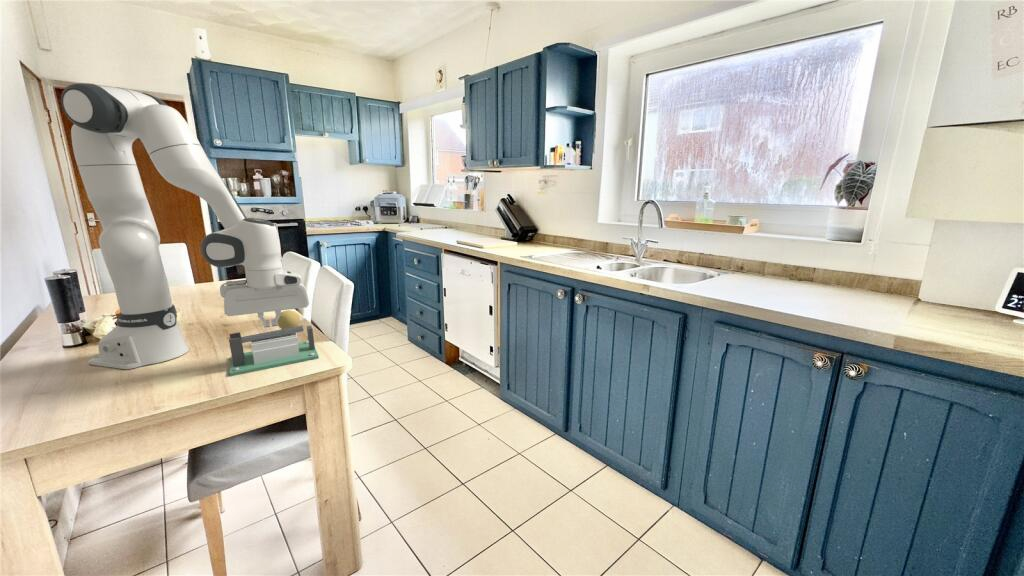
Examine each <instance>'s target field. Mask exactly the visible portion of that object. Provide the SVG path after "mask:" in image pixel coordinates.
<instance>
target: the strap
mask: <svg viewBox="0 0 1024 576" xmlns="http://www.w3.org/2000/svg"><path fill="white" fill-rule="evenodd" d="M304 330H305V329H304V327H303V325H298V326H297V327H292V328H286V329H281V328H280V329H277V330H271V331H267V332H261V333H256V334H249V335H245V336H241V337H240V341H241V343H242V344H245V343H250V342H251V341H256V340H261V339H266V338H271V337H277V336H282V335H287V334H292V333H297V334H298V333H301V332H302V333H303V332H304Z"/></svg>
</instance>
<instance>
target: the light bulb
mask: <svg viewBox="0 0 1024 576" xmlns="http://www.w3.org/2000/svg"><path fill="white" fill-rule="evenodd" d="M277 321H278V326H277V327H278V328H279V329H280V330H281V329H286V328H292V327H297V326H300V322H301V318H300V314H299V313H298V312H296V311H295V310H291V309H288V310H282V311H281V315H280V317H279V319H278V320H277ZM296 335H297V340H298V339H299V338H298V337H299V336H298V332H297V333H296Z"/></svg>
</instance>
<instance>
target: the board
mask: <svg viewBox="0 0 1024 576" xmlns="http://www.w3.org/2000/svg"><path fill="white" fill-rule="evenodd" d="M306 331H307V332H306V333H307V340H305V341H302V342H299V340H298V339H297V337H298V334H297V335H296V333H292V334H287V335H282V336H277V337H271V338H266V339H261V340H256V341H251V343H250V344H251V346H250V347H251V351H246V352H245V351H244V347H243V343H241V341H240V337H242V336H241V334H242V333H241V332H232V333H229V339H228V342H229V348H230V353H231V354H230V355H231V356H230V364H229V376H230V377H233V376H237V375H242V374H248V373H253V372H259V371H263V370H267V369H272V368H278V367H282V366H287V365H291V364H292V365H294V364H298V363H302V362H307V361H312V360H317V359H319V358H320V357H319V354H318V351H317V349H316V347H315V341H314V339H315V338H314V337H315V336H314V331H313V327H312V325H306Z"/></svg>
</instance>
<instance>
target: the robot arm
mask: <svg viewBox="0 0 1024 576" xmlns="http://www.w3.org/2000/svg"><path fill="white" fill-rule="evenodd" d="M60 104H61V108H62V111H63V113H64V115H65V116H66V117H67V119H68V120H69V121H70V122H71V124H73V125H72V126H71V129H70V133H71V135H70V137H71V144H72V150H73V151H72V152H73V155H74V159H75V162H76V166H77V169H78V172H79V175H80V177H81V178H80V179H81V181H82V183H83V186H84V189H85V190H84V191H85V193H86V196H87V199H88V201H89V202H90V205H91V206H92V207H93V210H94V212H95V214H96V216H97V218H98V221H99V223H100V225H101V228H102V231H101V232H100V234H99V237H98V245H99V247H100V248H99V249H100V252H101V255H102V258H103V261H104V263H105V266H106V269H107V271H108V273H109V277H110V279H111V283H112V284H113V287H114V292H115V296H116V300H117V304H118V307H119V313H116V314H113V315H111V317H113V318H112V320H116V319H117V322H116V326H115V327H113V329H112V330H110V331H109V332H108V333H107V334H105V335H104V336H103V337H102V338H101V339H99V342H98V346H97V347H98V354H97V355H95V356H94V357H91V358H90V359H89V360H88V364H89V365H92V366H99V367H105V368H114V369H120V370H122V369H123V370H131V369H135V368H139V367H142V366H143V367H144V366H147V365H153V364H159V363H162V362H166V361H169V360H173V359H175V358H178V357H181V356H182V355H185V354H186V353H188V352H189V350H190V348H189V346H188V343H187V340H186V339H185V338H184V336H183V333H182V330H181V327H180V324H179V321H178V320H177V317H178V315H177V309H176V306H175V305H174V304H173V301H172V296H171V291H170V287H169V283H168V277H167V274H166V271H165V268H164V264H163V260H162V255H161V252H160V248H159V247H160V243H161V237H160V233H159V231H158V227H157V226H158V225H157V224H156V221H155V218H154V215H153V211H152V209H151V206H150V204H149V201H148V197H147V195H146V192H145V189H144V185H143V182H142V179H141V174H140V172H139V169H138V165H137V162H136V158H135V156H134V153H133V143H134V141H136V140H139V141H141V143H142V144H143V146H144V149H145V150H146V152H147V154H148V156H149V158H150V160H151V161H152V164H153V165H154V167H155V168H156V170H157V171H158V173H159V174H160V175H161V177H162V178H163V179H164V180H165V181H166V182H167V183H169V184H171V185H172V186H175V187H176V188H179V189H182V190H184V191H186V192H189V193H192V194H194V195H195V196H197V197H199V198H201V199H202V200H203V201H205V202H206V203H207V204H208V205H209V207H210V208H211V209H212V211H213V212H214V214H215V215H216V217H217V219H218V220H219V222H220V223H221V225H222V227H223V228H224V229H221V230H218V231H214V232H211V233H209V234H207V235H205V236H204V237H203V238H202V240H201V243H200V253H201V255H202V257H203V259H204V260H205V261H206V262H207V263H208V264H209V265H211V266H213V267H216V268H230V267H234V266H239V265H241V266H243V268H244V273H245V279H239V280H228V281H225V282H224V283H222V284H220V287H219V292H220V296H221V297H222V298H223V311H224V315H226V316H227V317H235V316H236V317H237V316H242V315H243V316H244V315H251V314H252V315H253V314H257V317H258V318H259V319H260V321H261V322H262V324H263V328H270V327H279V326H278V321H277V320H278V319H279V317H280V315H281V313H282V311H288V310H295V309H296V310H297V309H304V308H305V309H306V308H308V307H309V305H310V300H309V294H308V291H307V288H306V287H305V285H304V283H303V282H302V281H303V277H302V276H301V274H300V273H298V272H295V271H288V270H286V269H285V270H284V267H283V264H282V262H281V253H282V251H281V250H282V249H281V241H280V236H279V233H278V232H279V231H278V229H277V227H276V225H275V223H273V222H272V221H270V220H267V219H263V218H258V217H257V218H255V217H247V216H246V215H245V213H244V211H243V209H242V208H241V206H240V204H239V202H237V199H236V198H235V196H234V194H233V192H231V190H230V189H229V187H228V185H227V184H226V183H225V182H224V180H223V179H222V177H221V176H220V175H219V174H218V172H217V171H216V169H215V167H214V165H212V163H211V161H210V159H209V157H208V155H207V154H206V152H205V150H204V148H203V147H202V145H201V143H200V140H199V139H198V138H197V136H196V134H195V132H194V131H193V129H192V127H190V125H189V123H188V122H187V121H186V119H185V117H183V115H182V114H181V113H180V112H179V111H178V110H177V109H176V108H174V107H172V106H169V105H168V104H167V103H166V102H164V101H163V100H162V99H160V98H158V97H156V96H154V95H153V94H149V93H145V92H139V91H136V90H131V89H128V88H124V87H115V86H108V85H107V86H106V85H98V84H94V83H87V82H86V83H84V82H83V83H80V82H79V83H73V84H69V85H68V86H66V87H65V88H64V90H63V91H62V93H61V97H60ZM270 312H274V313H275V314H274V315H275V317H274V318H271V319H266V318H265V317H264V315H265V314H264V313H270ZM270 320H271V324H270Z"/></svg>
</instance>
